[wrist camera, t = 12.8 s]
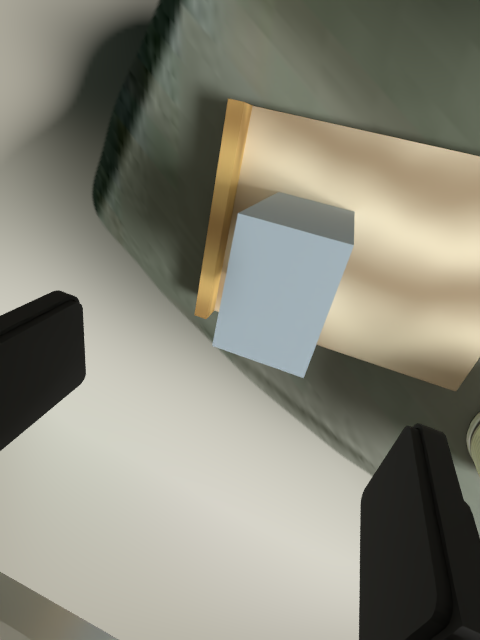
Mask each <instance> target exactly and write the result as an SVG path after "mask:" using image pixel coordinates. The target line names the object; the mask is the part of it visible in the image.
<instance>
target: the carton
mask: <svg viewBox="0 0 480 640" xmlns="http://www.w3.org/2000/svg"><path fill="white" fill-rule="evenodd" d="M354 214H355V212H354V211H350V210H346V209H343V208H339V207H335V206H331V205H327V204H323V203H320V202H316V201H312V200H308V199H304V198H300V197H297V196H293V195H289V194H285V193H281V192H278V193H276V194H274V195H272V196H270V197H268V198H266V199H264V200H262V201H260V202H258V203H257V204H255V205H253V206H251V207H249V208H247V209H245V210H243V211H241V212H239V213H238V216H237V221H236V226H235V231H234V236H233V242H232V247H231V252H230V257H229V262H228V267H227V273H226V278H225V283H224V288H223V293H222V299H221V304H220V309H219V314H218V319H217V324H216V330H215V335H214V340H213V346H214V347H217V348H220V349H223V350H226V351H228V352H231V353H234V354H237V355H240V356H243V357H245V358H248V359H251V360H254V361H257V362H260V363H262V364H265V365H268V366H271V367H274V368H277V369H279V370H282V371H285V372H288V373H291V374H294V375H296V376H299V377H302V378H304V376H305V373H306V370H307V368H308V365H309V362H310V360H311V357H312V355H313V352H314V349H315V347H316V344H317V341H318V339H319V336H320V333H321V331H322V328H323V326H324V323H325V320H326V318H327V315H328V312H329V310H330V307H331V305H332V302H333V299H334V297H335V294H336V291H337V289H338V286H339V283H340V281H341V278H342V276H343V273H344V270H345V268H346V265H347V262H348V260H349V257H350V254H351V252H352V249H353V247H354Z"/></svg>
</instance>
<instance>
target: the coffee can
mask: <svg viewBox="0 0 480 640" xmlns="http://www.w3.org/2000/svg"><path fill="white" fill-rule="evenodd" d="M466 441H467V447H468V451H469V454H470V456H471V458H472V460H473V461H474V464H475V466H476V469H477V472H478V474H479V477H480V412H479V413H478V414H477V415H476V416H475V418H474V419H473V420H472V422H471V424H470V427H469V429H468V432H467V440H466Z"/></svg>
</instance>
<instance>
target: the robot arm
mask: <svg viewBox="0 0 480 640" xmlns="http://www.w3.org/2000/svg"><path fill="white" fill-rule="evenodd" d="M83 327H84V326H83V308H82V305H81V304H80V303H79V300H78V298H77V297H75V296H73V295H70V294H66V293H64V292H62V291H53V292H51V293H49V294H47V295H44V296H42V297H40V298H38V299H36V300H34V301H32V302H29V303H27V304H25V305H23V306H21V307H18V308H16V309H14V310H12V311H10V312H8V313H5V314H3V315H1V316H0V451H1V450H2V449H3V448H4V447H6V446H7V445H8V444H9V443H10V442H12V441H13V440H14V439H15V438H16V437H18V436H19V435H20V434H21V433H22V432H24V431H25V430H26V429H27V428H28V427H30V426H31V425H32V424H33V423H35V422H36V421H37V420H38V419H39V418H41V417H42V416H43V415H44V414H45V413H47V412H48V411H49V410H50V409H51V408H53V407H54V406H55V405H56V404H57V403H58V402H60V401H61V400H62V399H63V398H64V397H66V396H67V395H68V394H69V393H70V392H72V391H73V390H74V389H75V388H77V387H78V386H79V385H80V384H81V383H82V382H83V380H84V378H85V375H86V369H85V368H86V367H85V348H84V328H83ZM360 530H361V531H360V608H359V612H360V613H359V640H480V538H479V534H478V531H477V528H476V524H475V521H474V517H473V514H472V512H471V509H470V507H469V506H468V504H467V503H466V502H465V501H464V500H463V496H462V493H461V489H460V485H459V482H458V478H457V475H456V471H455V467H454V464H453V460H452V457H451V453H450V450H449V446H448V442H447V439H446V436H445V434H444V433H443V432H441V431H438V430H435V429H433V428H430V427H427V426H424V425H422V424H416V425H414V426H413V427H410V426H406V427H405V428H404V429H403V431H402V432H401V434H400V436H399V437H398V439H397V440H396V442H395V443H394V445H393V446H392V448H391V449H390V451H389V452H388V454H387V456H386V457H385V459H384V460H383V462H382V463H381V465H380V466H379V468H378V469H377V471H376V472H375V474H374V475H373V477H372V479H371V480H370V482H369V483H368V485H367V486H366V488H365V490H364V492H363V494H362V499H361V526H360ZM0 640H118V639H116V638H115V637H113V636H111V635H110V634H108V633H106V632H104V631H103V630H101V629H99V628H97V627H95V626H94V625H92V624H90V623H88V622H87V621H85V620H83V619H82V618H80V617H78V616H76V615H75V614H73V613H71V612H69V611H67V610H66V609H64V608H62V607H61V606H59V605H57V604H55V603H54V602H52V601H50V600H48V599H47V598H45V597H43V596H41V595H40V594H38V593H36V592H35V591H33V590H31V589H29V588H28V587H26V586H24V585H22V584H21V583H19V582H17V581H15V580H14V579H12V578H10V577H8V576H6V575H5V574H3V573H1V572H0Z"/></svg>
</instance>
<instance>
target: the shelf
mask: <svg viewBox="0 0 480 640" xmlns="http://www.w3.org/2000/svg"><path fill="white" fill-rule="evenodd" d="M278 192H281V193H285V194H289V195H293V196H297V197H300V198H304V199H308V200H312V201H316V202H320V203H323V204H327V205H331V206H335V207H339V208H343V209H346V210H350V211H354V212H355V214H354V247H353V249H352V252H351V254H350V257H349V260H348V262H347V265H346V268H345V270H344V273H343V276H342V278H341V281H340V283H339V286H338V289H337V291H336V294H335V297H334V299H333V302H332V305H331V307H330V310H329V312H328V315H327V318H326V320H325V323H324V326H323V328H322V331H321V333H320V336H319V339H318V341H317V344H316V345H319V346H322V347H325V348H328V349H331V350H334V351H337V352H340V353H343V354H346V355H349V356H352V357H355V358H358V359H361V360H363V361H366V362H369V363H372V364H375V365H378V366H381V367H384V368H387V369H390V370H393V371H396V372H399V373H402V374H405V375H408V376H411V377H414V378H417V379H420V380H423V381H426V382H429V383H432V384H435V385H438V386H441V387H444V388H447V389H450V390H453V391H457V389H458V388H459V387H460V385H461V384H462V382H463V381H464V379H465V378H466V376H467V375H468V374H469V372H470V371H471V369H472V368H473V366H474V365H475V363H476V362H477V361H478V359H479V358H480V156H475V155H471V154H466V153H462V152H457V151H453V150H448V149H444V148H439V147H435V146H430V145H426V144H421V143H417V142H412V141H408V140H403V139H399V138H395V137H390V136H386V135H381V134H377V133H372V132H368V131H363V130H359V129H354V128H350V127H345V126H341V125H336V124H332V123H327V122H323V121H318V120H314V119H309V118H305V117H301V116H296V115H292V114H287V113H283V112H278V111H274V110H269V109H265V108H260V107H256V106H252V105H250V104H248V103H245V102H241V101H237V100H232V99H228V103H227V109H226V116H225V122H224V129H223V135H222V142H221V148H220V154H219V161H218V167H217V174H216V180H215V187H214V193H213V200H212V206H211V212H210V219H209V225H208V232H207V238H206V245H205V251H204V258H203V264H202V270H201V277H200V283H199V290H198V296H197V303H196V309H195V315H196V316H199V317H202V318H205V319H207V318H208V317H209V316H210V314H211V313H212V312H213V311H214V310H215V311H218V312H219V309H220V304H221V299H222V293H223V288H224V283H225V278H226V273H227V267H228V262H229V257H230V252H231V247H232V242H233V236H234V231H235V226H236V221H237V216H238V213H239V212H241V211H243V210H245V209H247V208H249V207H251V206H253V205H255V204H257V203H258V202H260V201H262V200H264V199H266V198H268V197H270V196H272V195H274V194H276V193H278Z"/></svg>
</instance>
